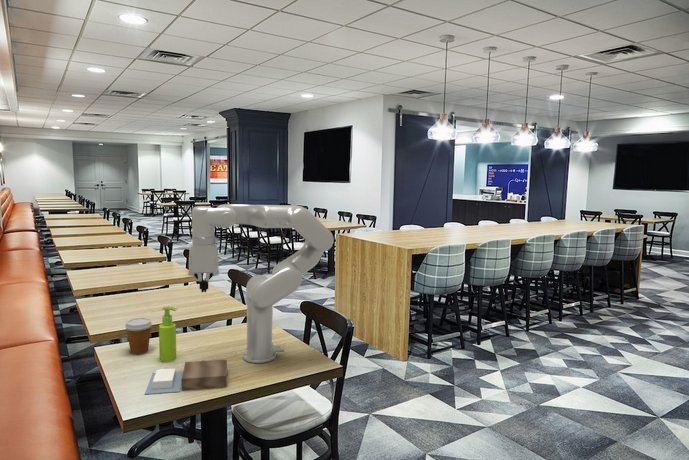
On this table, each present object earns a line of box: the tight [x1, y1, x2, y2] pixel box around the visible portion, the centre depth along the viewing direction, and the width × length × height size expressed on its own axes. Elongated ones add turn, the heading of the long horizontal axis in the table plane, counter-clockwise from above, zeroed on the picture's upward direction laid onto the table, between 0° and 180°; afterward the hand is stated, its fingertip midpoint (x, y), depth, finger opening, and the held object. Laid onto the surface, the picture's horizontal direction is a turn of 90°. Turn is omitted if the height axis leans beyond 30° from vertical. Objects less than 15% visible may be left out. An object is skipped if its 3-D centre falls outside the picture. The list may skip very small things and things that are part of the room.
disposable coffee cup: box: [124, 317, 153, 356], centre depth 182 cm, size 10×10×12 cm
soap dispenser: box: [158, 306, 179, 363], centre depth 175 cm, size 6×7×20 cm
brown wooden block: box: [181, 359, 228, 391], centre depth 161 cm, size 14×13×4 cm
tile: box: [153, 368, 177, 389], centre depth 158 cm, size 6×9×2 cm, turn 13°
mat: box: [144, 370, 183, 396], centre depth 158 cm, size 10×15×1 cm
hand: (204, 291), depth 171 cm, fingers closed
